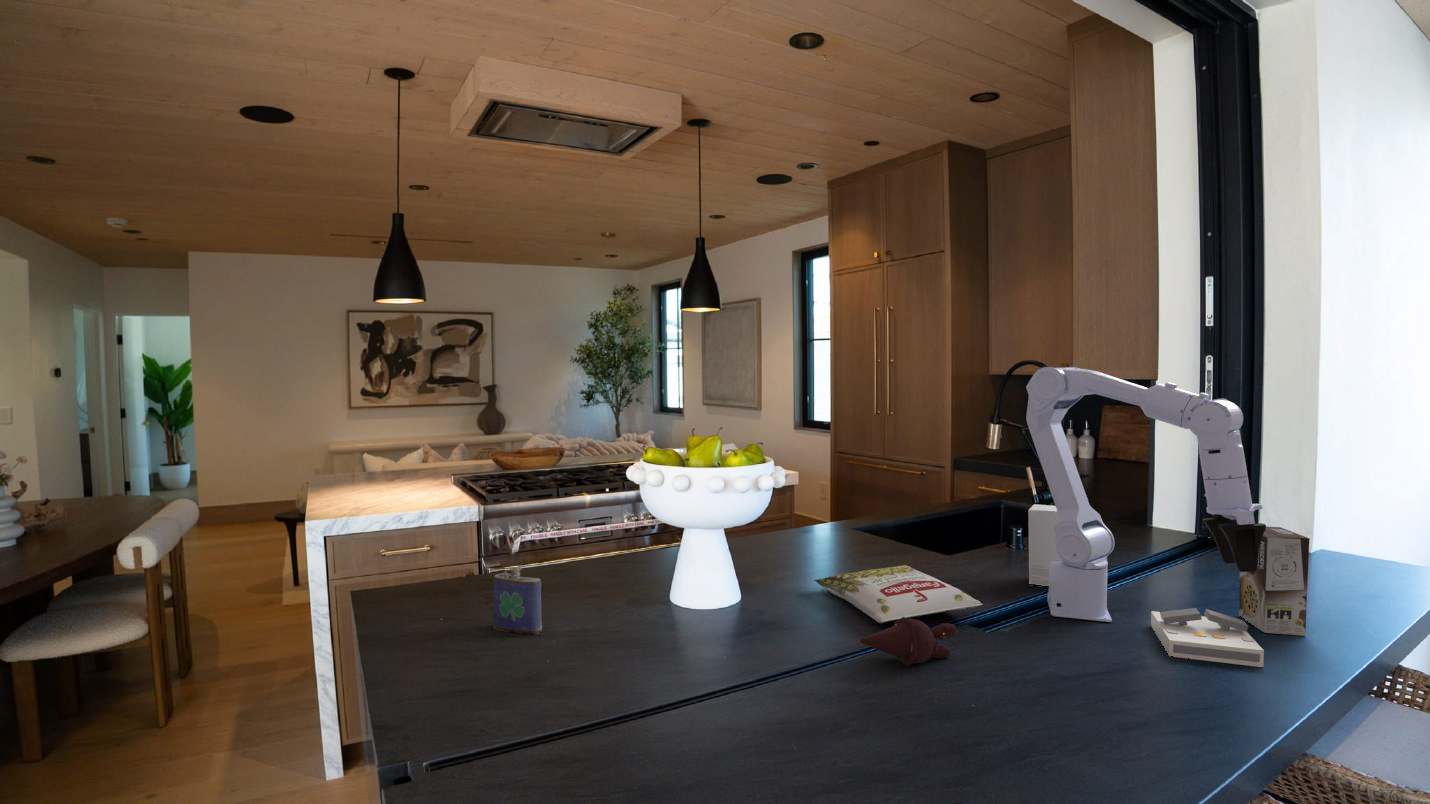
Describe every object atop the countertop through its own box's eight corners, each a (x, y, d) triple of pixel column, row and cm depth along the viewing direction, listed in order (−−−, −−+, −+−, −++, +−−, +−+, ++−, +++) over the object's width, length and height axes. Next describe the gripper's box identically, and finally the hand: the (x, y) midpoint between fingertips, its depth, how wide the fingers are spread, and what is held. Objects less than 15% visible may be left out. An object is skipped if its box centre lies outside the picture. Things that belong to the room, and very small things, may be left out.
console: (1169, 656, 114) (1169, 639, 114) (1150, 625, 127) (1151, 610, 127) (1263, 667, 110) (1264, 649, 109) (1234, 634, 123) (1235, 618, 123)
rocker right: (1207, 624, 118) (1210, 614, 117) (1202, 618, 120) (1205, 608, 120) (1245, 636, 116) (1248, 626, 116) (1239, 630, 119) (1242, 620, 118)
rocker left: (1165, 628, 120) (1163, 617, 120) (1162, 622, 122) (1159, 612, 122) (1203, 624, 118) (1200, 613, 118) (1198, 618, 120) (1195, 607, 121)
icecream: (874, 635, 106) (970, 636, 109) (856, 606, 113) (947, 607, 116) (865, 677, 108) (960, 677, 111) (847, 645, 115) (937, 646, 118)
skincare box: (1076, 583, 151) (1078, 506, 150) (1072, 592, 146) (1074, 512, 145) (1032, 577, 156) (1033, 502, 155) (1026, 585, 150) (1027, 508, 149)
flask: (545, 630, 126) (543, 567, 125) (534, 636, 123) (533, 572, 122) (499, 623, 129) (498, 562, 128) (488, 629, 126) (486, 566, 126)
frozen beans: (904, 552, 153) (986, 587, 129) (905, 580, 153) (986, 620, 129) (812, 565, 146) (880, 604, 122) (813, 594, 146) (881, 639, 123)
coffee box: (1307, 636, 122) (1311, 538, 121) (1263, 633, 123) (1266, 536, 122) (1277, 617, 131) (1281, 526, 130) (1236, 615, 132) (1239, 524, 131)
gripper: (1272, 477, 107) (1288, 574, 106) (1240, 472, 121) (1254, 557, 120) (1215, 482, 110) (1230, 576, 109) (1190, 476, 123) (1203, 560, 122)
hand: (1239, 567), depth 114 cm, fingers open, 7 cm apart
